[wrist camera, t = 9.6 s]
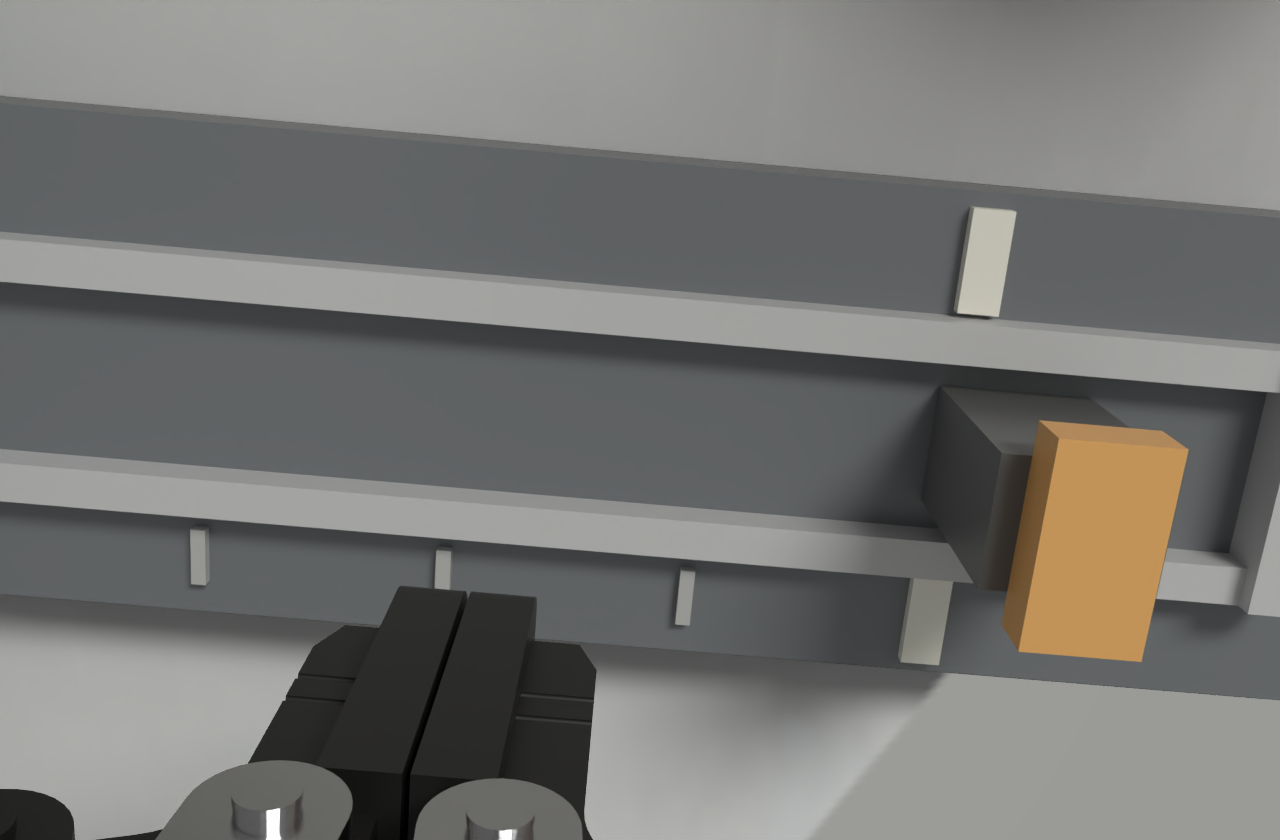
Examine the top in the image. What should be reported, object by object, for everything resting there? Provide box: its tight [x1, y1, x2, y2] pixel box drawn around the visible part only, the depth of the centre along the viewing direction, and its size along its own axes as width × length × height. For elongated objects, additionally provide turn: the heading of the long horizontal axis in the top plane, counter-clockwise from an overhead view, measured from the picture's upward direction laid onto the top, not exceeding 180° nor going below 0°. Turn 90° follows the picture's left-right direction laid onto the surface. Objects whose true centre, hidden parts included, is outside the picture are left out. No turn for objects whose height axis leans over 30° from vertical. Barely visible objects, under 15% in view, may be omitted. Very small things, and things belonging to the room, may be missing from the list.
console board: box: [0, 96, 1280, 700], centre depth 25 cm, size 10×32×3 cm, turn 85°
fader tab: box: [921, 385, 1189, 662], centre depth 22 cm, size 4×3×5 cm
